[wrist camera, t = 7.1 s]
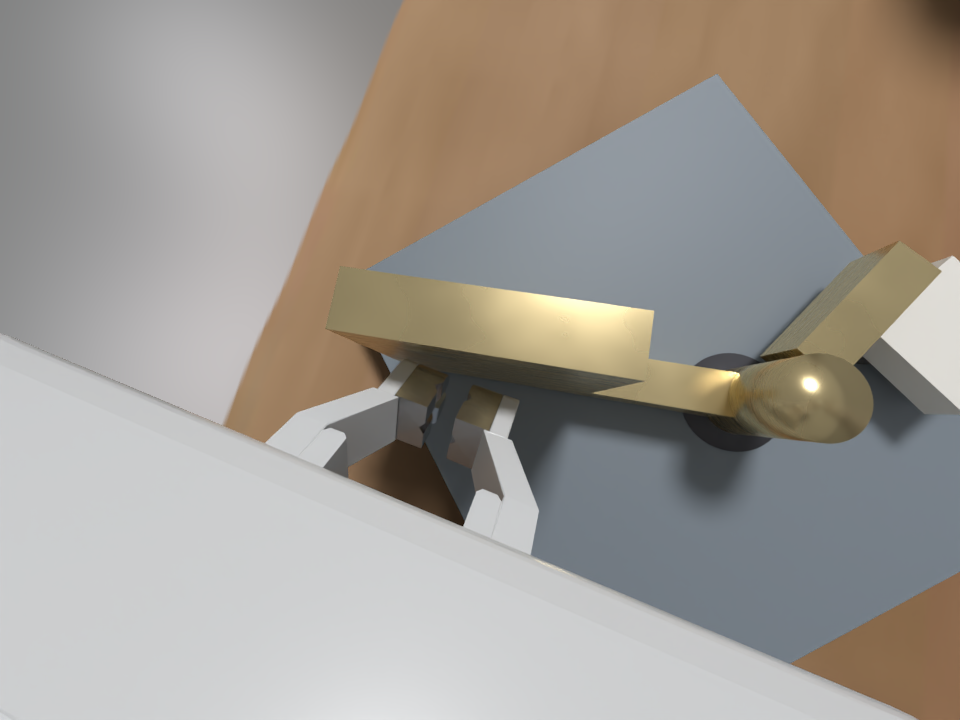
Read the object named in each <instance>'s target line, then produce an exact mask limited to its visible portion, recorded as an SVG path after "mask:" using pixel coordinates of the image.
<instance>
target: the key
mask: <svg viewBox="0 0 960 720" xmlns="http://www.w3.org/2000/svg"><path fill="white" fill-rule="evenodd" d="M941 272H942V271H941V270H940V269H938V268H937V267H935V266H934V265H933V264H931V263H930V262H928V261H927V260H926V259H924V258H923V257H922V256H920V255H919V254H917V253H916V252H915V251H913V250H912V249H910V248H909V247H908V246H906V245H905V244H903V243H902V242H901V241H897V242H895V243H893V244H891V245H888V246H886V247H884V248H881V249H879V250H877V251H875V252H872V253H870V254H868V255H865V256H863V257H861V258H859V259H856V260H854V261H852V262H850V263H849V264H848V265H847V266H846V267H845V268H844V269H843V270H842V271H841V272H840V273H839V274H838V275H837V276H836V277H835V278H834V279H833V281H832V282H831V283H830V284H829V285H828V286H827V287H826V288H825V289H824V290H823V291H822V292H821V293H820V294H819V295H818V296H817V297H816V298H815V299H814V300H813V301H812V302H811V304H810V305H809V306H808V307H807V308H806V309H805V310H804V311H803V312H802V313H801V314H800V315H799V316H798V317H797V318H796V319H795V320H794V321H793V322H792V323H791V324H790V325H789V326H788V328H787V329H786V330H785V331H784V332H783V333H782V334H781V335H780V336H779V337H778V338H777V339H776V340H775V341H774V342H773V343H772V344H771V345H770V346H769V347H768V348H767V349H766V351H765V352H764V353H763V354H762V355H761V356H760V357H761V358H762V359H764V360H765V361H766V362H765V363H759V364H754V365H749V366H744V367H738V368H733V369H728V370H717V369H711V368H704V367H698V366H691V365H685V364H679V363H672V362H666V361H660V360H653V359H649V351H650V342H651V334H652V326H653V317H654V311H652V310H645V309H638V308H631V307H624V306H617V305H610V304H603V303H596V302H589V301H582V300H575V299H568V298H561V297H554V296H547V295H540V294H533V293H526V292H519V291H512V290H505V289H497V288H490V287H483V286H476V285H469V284H462V283H455V282H448V281H441V280H434V279H427V278H420V277H413V276H406V275H399V274H392V273H385V272H378V271H371V270H364V269H357V268H350V267H343V266H340V269H339V273H338V278H337V282H336V286H335V290H334V294H333V299H332V303H331V307H330V311H329V316H328V320H327V324H326V328H325V329H327V330H329V331H332V332H334V333H336V334H339V335H341V336H343V337H345V338H348V339H350V340H352V341H354V342H357V343H359V344H361V345H364V346H366V347H368V348H370V349H373V350H375V351H377V352H380V353H382V354H384V355H386V356H389V357H391V358H393V359H395V360H398V361H400V362H401V361H402V360H404V359H408V360H411V361H413V362H416V363H418V364H422V365H424V366H427V367H429V368H432V369H435V370H438V371H443V372H449V373H455V374H461V375H467V376H473V377H479V378H484V379H490V380H496V381H502V382H508V383H514V384H520V385H525V386H531V387H537V388H543V389H549V390H554V391H560V392H566V393H572V394H578V395H584V396H590V397H595V398H601V399H607V400H613V401H619V402H625V403H631V404H636V405H642V406H648V407H654V408H660V409H666V410H671V411H677V412H683V413H689V414H695V415H701V416H707V417H708V419H709V420H710V421H711V422H712V423H713V424H714V425H715V426H716V427H718V428H719V429H721V430H723V431H725V432H728V433H732V434H740V435H749V436H759V437H768V438H778V439H787V440H797V441H807V442H816V443H826V444H835V443H842V442H845V441H848V440H850V439H852V438H854V437H856V436H857V435H859V434H860V433H861V432H862V431H863V430H864V429H865V428H866V426H867V425H868V423H869V421H870V419H871V416H872V413H873V395H872V391H871V388H870V386H869V384H868V382H867V380H866V379H865V377H864V376H863V375H862V373H861V372H860V371H859V370H858V369H857V368H856V367H855V366H853V365H854V364H855V363H856V362H857V361H858V360H859V359H860V358H861V357H862V356H863V355H864V354H865V353H866V352H867V351H868V350H869V348H870V347H871V346H872V345H873V344H874V343H875V342H876V341H877V340H878V339H879V338H880V337H881V336H882V335H883V334H884V333H885V331H886V330H887V329H888V328H889V327H890V326H891V325H892V324H893V323H894V322H895V321H896V320H897V319H898V318H899V317H900V316H901V314H902V313H903V312H904V311H905V310H906V309H907V308H908V307H909V306H910V305H911V304H912V303H913V302H914V301H915V300H916V299H917V297H918V296H919V295H920V294H921V293H922V292H923V291H924V290H925V289H926V288H927V287H928V286H929V285H930V284H931V283H932V282H933V280H934V279H935V278H936V277H937V276H938V275H939V274H940V273H941Z"/></svg>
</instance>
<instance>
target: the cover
mask: <svg viewBox="0 0 960 720" xmlns="http://www.w3.org/2000/svg"><path fill="white" fill-rule="evenodd" d="M931 264H933V265H934V266H935V267H937V268H938V269H940V270H941V271H942V272H941V273H940V274H939V275H938V276H937V277H936V278H935V279H934V280H933V282H932V283H931V284H930V285H929V286H928V287H927V288H926V289H925V290H924V291H923V292H922V293H921V294H920V295H919V296H918V297H917V299H916V300H915V301H914V302H913V303H912V304H911V305H910V306H909V307H908V308H907V309H906V310H905V311H904V312H903V313H902V314H901V316H900V317H899V318H898V319H897V320H896V321H895V322H894V323H893V324H892V325H891V326H890V327H889V328H888V329H887V330H886V331H885V333H884V334H883V335H882V336H881V337H880V338H879V339H878V340H877V341H876V342H875V343H874V344H873V345H872V346H871V347H870V348H869V350H868V351H867V352H866V353H865V354H864V355H863V357H864V358H865V359H866V360H867V361H868V362H869V363H871V364H872V365H873V366H874V367H875V368H876V369H877V370H878V371H879V372H880V373H881V374H882V375H883V376H884V377H885V378H886V379H888V380H889V381H890V382H891V383H892V384H893V385H894V386H895V387H896V388H897V389H898V390H899V391H900V392H901V393H902V394H903V395H905V396H906V397H907V398H908V399H909V400H910V401H911V402H912V403H913V404H914V405H915V406H916V407H917V408H918V409H919V410H920V411H922V412H923V413H924V414H953V415H960V262H959V261H958V260H957V259H956V258H955V257H954V256H951V257H948V258H945V259H942V260H939V261H936V262H933V263H931Z"/></svg>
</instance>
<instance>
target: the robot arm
mask: <svg viewBox="0 0 960 720" xmlns="http://www.w3.org/2000/svg"><path fill="white" fill-rule="evenodd" d="M449 378H450V377H449V375H447V374H445V373H442V372H440V371H437V370H435V369H432V368H429V367H427V366H424V365H422V364H418V363H416V362H413V361H411V360H408V359H404V360H402V361H401V362H400V363H399V364H398V365H397V367H396V368H395V369H394V370H393V371H392V373H391V374H390V375H389V376H388V377H387V378H386V380H385V381H384V382H383V383H382V384H381V385H380V387H379V388H378V389H376V388H370V389H367V390H364V391H361V392H358V393H355V394H352V395H349V396H346V397H343V398H340V399H337V400H334V401H331V402H328V403H325V404H322V405H319V406H316V407H312V408H309V409H306V410H303V411H300V412H297V413H296V414H295V415H294V416H293V417H292V418H291V419H290V420H289V421H288V422H287V423H286V424H285V425H284V426H283V427H281V428H280V429H279V430H278V431H277V432H276V433H275V434H274V435H273V436H272V437H271V438H270V439H269V440H268V441H267V442H266V443H263V442H260V441H258V440H256V439H253V438H251V437H248V436H246V435H244V434H241V433H239V432H237V431H234V430H232V429H229V428H227V427H225V426H222V425H220V424H217V423H215V422H213V421H210V420H208V419H206V418H203V417H201V416H198V415H196V414H194V413H191V412H189V411H187V410H184V409H182V408H179V407H177V406H175V405H172V404H170V403H168V402H165V401H163V400H160V399H158V398H156V397H153V396H151V395H149V394H146V393H144V392H141V391H139V390H136V389H134V388H132V387H129V386H127V385H125V384H122V383H120V382H117V381H115V380H113V379H110V378H108V377H106V376H103V375H101V374H98V373H96V372H94V371H91V370H89V369H86V368H84V367H82V366H79V365H77V364H75V363H72V362H70V361H67V360H65V359H63V358H60V357H58V356H55V355H53V354H51V353H48V352H46V351H44V350H41V349H39V348H37V347H34V346H32V345H30V344H27V343H25V342H23V341H20V340H18V339H16V338H14V337H11V336H8V335H5V334H1V333H0V720H918V719H916V718H915V717H913V716H911V715H909V714H907V713H905V712H903V711H900V710H898V709H896V708H894V707H892V706H889V705H887V704H885V703H882V702H880V701H877V700H875V699H873V698H870V697H868V696H865V695H863V694H861V693H858V692H856V691H853V690H851V689H849V688H846V687H844V686H842V685H839V684H837V683H834V682H832V681H830V680H827V679H825V678H822V677H820V676H818V675H815V674H813V673H810V672H808V671H806V670H803V669H801V668H799V667H796V666H794V665H791V664H789V663H787V662H784V661H782V660H779V659H777V658H775V657H772V656H770V655H768V654H765V653H763V652H760V651H758V650H756V649H753V648H751V647H748V646H746V645H744V644H741V643H739V642H737V641H734V640H732V639H729V638H727V637H725V636H722V635H720V634H717V633H715V632H713V631H710V630H708V629H706V628H703V627H701V626H698V625H696V624H694V623H691V622H689V621H687V620H684V619H682V618H679V617H677V616H675V615H672V614H670V613H668V612H665V611H663V610H660V609H658V608H656V607H653V606H651V605H648V604H646V603H644V602H641V601H639V600H637V599H634V598H632V597H629V596H627V595H625V594H622V593H620V592H618V591H615V590H613V589H610V588H608V587H606V586H603V585H601V584H599V583H596V582H594V581H591V580H589V579H587V578H584V577H582V576H579V575H577V574H575V573H572V572H570V571H568V570H565V569H563V568H560V567H558V566H556V565H553V564H551V563H549V562H546V561H544V560H541V559H539V558H537V557H534V556H532V555H531V550H532V545H533V540H534V534H535V529H536V524H537V519H538V513H539V509H538V507H537V504H536V501H535V499H534V496H533V494H532V491H531V488H530V486H529V483H528V481H527V478H526V475H525V473H524V470H523V468H522V465H521V462H520V460H519V457H518V454H517V452H516V449H515V447H514V444H513V441H512V440H509V439H508V436H509V433H510V430H511V427H512V424H513V421H514V417H515V414H516V411H517V408H518V405H519V400H517V399H515V398H512V397H509V396H506V395H504V396H503V395H502V394H500V393H497V392H494V391H491V390H488V389H486V388H483V387H480V386H477V385H475V384H473V385H472V387H471V389H470V390H469V393H468V397H467V401H465V402H463V404H462V406H461V408H460V410H459V412H458V414H457V416H456V418H455V422H454V426H453V430H452V436H453V437H452V440H451V442H450V444H449V448H448V452H447V457H446V458H447V459H449V460H451V461H454V462H456V463H458V464H461V465H463V466H465V467H468V468H470V469H472V470H471V472H472V477H473V482H474V487H475V492H476V494H475V497H474V499H473V502H472V505H471V507H470V510H469V512H468V515H467V518H466V520H465V523H464V525H463V526H460V525H458V524H456V523H453V522H451V521H448V520H446V519H444V518H441V517H439V516H436V515H434V514H432V513H429V512H427V511H424V510H422V509H420V508H417V507H415V506H413V505H410V504H408V503H405V502H403V501H401V500H398V499H396V498H393V497H391V496H389V495H386V494H384V493H382V492H379V491H377V490H374V489H372V488H370V487H367V486H365V485H363V484H360V483H358V482H355V481H353V480H351V479H348V467H349V466H351V465H352V464H354V463H356V462H358V461H359V460H361V459H363V458H365V457H367V456H368V455H370V454H372V453H374V452H375V451H377V450H379V449H381V448H383V447H384V446H386V445H388V444H390V443H392V442H393V441H395V439H397V440H400V441H403V442H405V443H408V444H411V445H414V446H416V447H419V448H422V446H423V444H424V442H425V441H426V439H427V437H428V436H429V434H430V431H431V426H432V424H434V423H436V422H437V420H438V418H439V416H440V414H441V412H442V409H443V407H444V403H445V400H446V393H445V390H446V388H447V386H448V385H449Z"/></svg>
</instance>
